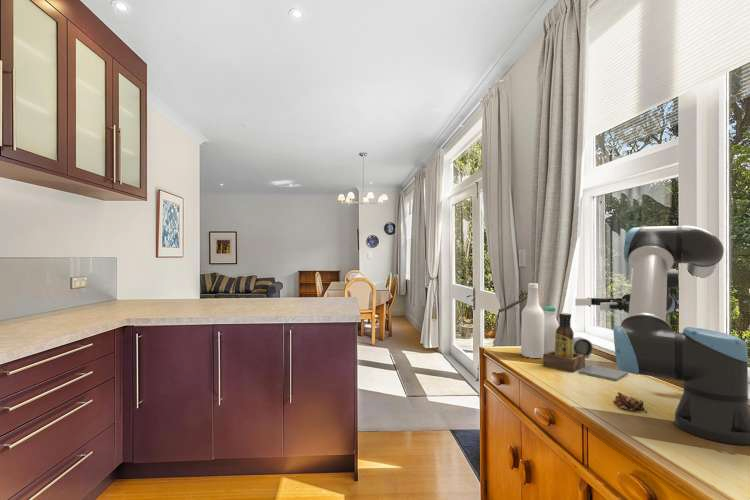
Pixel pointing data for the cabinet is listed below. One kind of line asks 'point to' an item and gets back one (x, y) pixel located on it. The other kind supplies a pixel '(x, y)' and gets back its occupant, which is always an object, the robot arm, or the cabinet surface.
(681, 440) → the cabinet surface
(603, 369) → the slate tile
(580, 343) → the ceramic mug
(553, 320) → the milk bottle
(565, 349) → the sauce bottle
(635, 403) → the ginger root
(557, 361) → the walnut collar
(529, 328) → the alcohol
